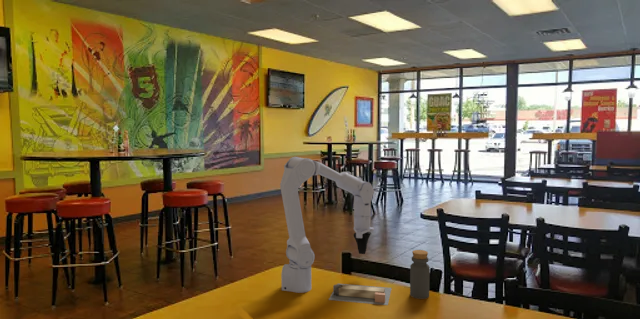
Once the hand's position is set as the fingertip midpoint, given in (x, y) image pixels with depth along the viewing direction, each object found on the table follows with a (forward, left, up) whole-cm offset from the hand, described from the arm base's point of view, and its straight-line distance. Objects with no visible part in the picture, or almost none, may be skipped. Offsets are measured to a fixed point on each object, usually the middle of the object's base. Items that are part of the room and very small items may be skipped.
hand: (362, 253), depth 153 cm
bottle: (+20, -13, -10) cm, 26 cm away
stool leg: (+1, -18, -8) cm, 20 cm away
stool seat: (+2, -16, -9) cm, 19 cm away
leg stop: (+8, -21, -8) cm, 24 cm away
